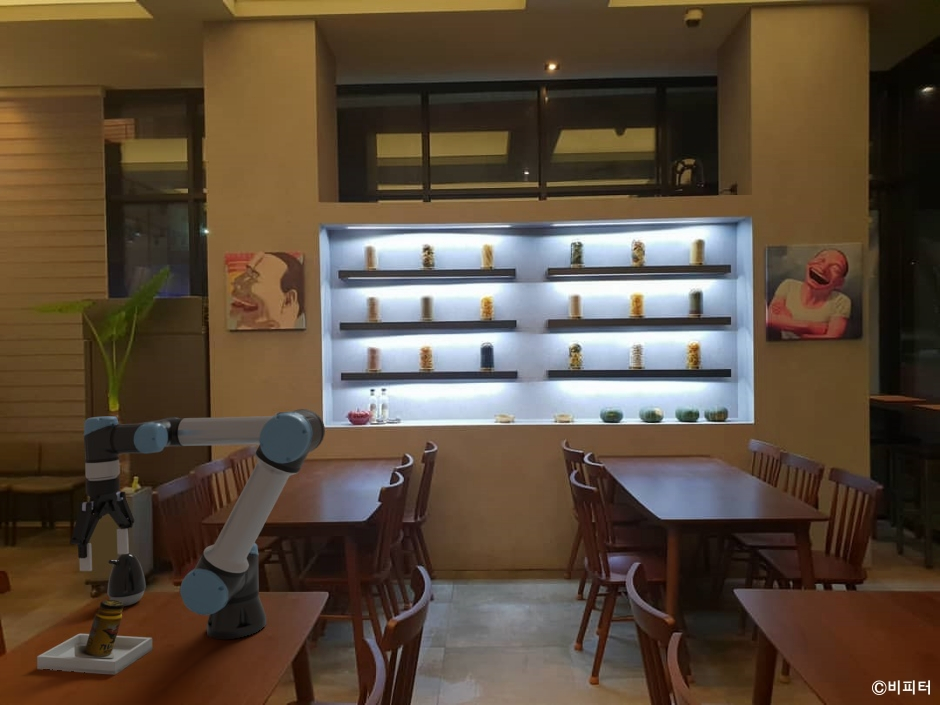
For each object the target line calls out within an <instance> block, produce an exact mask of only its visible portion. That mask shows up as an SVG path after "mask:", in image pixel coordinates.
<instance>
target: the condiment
mask: <svg viewBox="0 0 940 705" xmlns="http://www.w3.org/2000/svg"><path fill="white" fill-rule="evenodd" d="M124 607H125V606H124V604H123V603H122V602H120V601H117V600H110V599H105V600H102V601H101V602H100V604H99V607H98V609H97V610H98V611H97V612H96V613H95V615H94V618H93V622H92V623H91V627H90V628H91V629H90V630H89V633H88V634H89V637H88V641H87V644H86V646H83V645H75V648H74V651H75V652H74V653H75V657H95V658H114V655H113V646H114V643H115V640H116V636H118V633H119V628H120V626H121V622H122V618H123V615H122V613H123V609H124Z"/></svg>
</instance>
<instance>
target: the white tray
mask: <svg viewBox="0 0 940 705" xmlns="http://www.w3.org/2000/svg"><path fill="white" fill-rule="evenodd" d="M89 634H90V633H78V634H76V635H74V636H72V637H71V638H69V639H66V640H65V641H63V642H62V643H59V644H58V645H56V646H54V647H52V648H50V649H48V650H47V651H45V652H43V653H41V654H39V655H37V656H36V658H37V659H36V662H37V666H36V667H37V670H43V669H50V670H49V671H57V670H62V671H61V672H71V671H74V672H75V673H84V672H85V674H86V673H88V674H102V675H114V676H115V675H117V674H118V673H120V672H122V671H123V670H125V669H126V668H128V667H129V666H131V665H132V664H133V663H135V662H137V661H138V660H139V659H140V658H143V657H144V656H146V654H148V653H150V652H152V651H153V637H148V636H147V637H145V636H127V635H126V636H125V635H117V636H116V640H115V643H114V646H113V655H114V658H95V657H75V653H74V652H75V651H74V648H75V645H83V646H86V644H87V641H88V637H89ZM52 669H53V670H52Z"/></svg>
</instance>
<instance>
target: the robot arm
mask: <svg viewBox="0 0 940 705" xmlns="http://www.w3.org/2000/svg"><path fill="white" fill-rule="evenodd" d="M118 419H119V418H118V417H117V416H115V415H112V416H111V415H110V416H109V415H108V416H107V415H106V416H95V417H94V416H93V417H89V418H86V419H85V420H84V424H83V426H84V428H83V437H82V438H83V443H84V454H85V455H84V458H85V459H84V462H85V465H84V466H85V478H86V481H85V494H86V495H87V496H89V501H88V502H87V501H82V502H80V503H79V509H78V515H77V517H76V521H75V525H74V528H73V532H72V535H71V538H70V544H71V545H75V546H76V545H77V554H78V555H77V556H78V560H79V572H92V571H93V557H92V555H93V554H92V543H91V542H90V540H91V538H92V536H93V533H94V532H95V530H96V527H97V525H98V522H99V520H101V519H102V518H103V517H104V516H106V515H107V514H109V516H110V517H111V519H112V520H113V521H114V523H115V524H116V525H117V526H118V528H117V529H116V543H117V544H116V545H117V546H116V547H117V548H116V549H117V553H116V554H117V555H121V554H128V553H130V551H129V550H130V549H129V548H130V547H129V545H130V544H129V543H130V542H129V538H130V535H129V534H130V532H129V528H130V529H131V528H133V526H134V523H135V518H134V515H133V513H132V511H131V508H130V506H129V502H128V501H127V499H126V498H127V496H126V491H120V490H121V486H120V485H121V483H120V480H121V478H120V477H119V475H120V459H119V458H120V456H119V455H120V454H121V455H122V454H147V455H148V454H153V453H160V452H162V451H163V450H164V448H169V447H186V446H187V447H188V446H189V447H190V446H196V447H197V446H251V445H252V446H254V445H257V449H256V451H255V454H254V455H255V457H256V460H257V462H256V464H255V465H254V468H253V470H252V471H251V474H250V476H249V477H248V479H247V481H246V483H245V485H244V486H243V489H242V491H241V493H240V495H239V497H238V498H237V500H236V502H235V504H234V506H233V507H232V510H231V512H230V514H229V516H228V517H227V520H226V521H225V523H224V525H223V528H222V529H221V531H220V532H219V535H218V537H217V539H216V541H215V542H214V544H212V545H209V546H206V548H205V549H204V550H203V552H202V554H201V556H200V558H199V559H198V561H197V564H196V565H195V567H194V569H192V570H190V571H189V572H188V573H187V574H186V575H185V577H184V578H183V579H182V581H181V584H180V589H179V590H180V592H179V593H180V597H181V598H182V602H183V604H184V605H185V607H186V608H188V609H189V611H191V612H193V613H194V614H196V615H199V616H208V615H209V616H208V620H207V624H206V634H207V636H208V637H210V638H211V639H217V640H235V638H237V639H241V638H240V637H242V638H245V637H244V636H246V637H248V636H247V635H249V636H252V635H254V634H253V633H255V634H256V632H257V633H258V631H259V630H260V631H262V630H263V629H264V628H265V627H266V626H267V615H266V612H265V609H264V606H263V603H262V601H261V598H260V592H259V591H260V590H259V589H260V584H259V573H260V572H259V555H260V553H259V550H258V549H259V547H258V544H257V543H256V541H257V539H258V538H259V535H260V533H261V532H262V530H263V528H264V525H265V523H266V521H267V520H268V518H269V516H270V514H271V512H272V510H273V508H274V507H275V504H276V503H277V501H278V499H279V497H280V495H281V494H282V491H283V490H284V487H285V486H286V484H287V482H288V479H289V478H290V476H293V475H297V474H298V473H299V472H300V471H301V469H302V466H303V465H304V463H305V460H306V459H307V457H308V455H309V453H311V452H313V451H315V450H316V449H317V448H319V447H320V445H321V444H322V442H323V441H324V437H325V435H326V434H325V433H326V428H325V427H326V426H325V424H324V421H323V419H322V417H320V415H319V414H318V413H316V412H314V411H312V410H309V409H307V408H305V409H304V408H300V409H295V410H291V411H282V412H281V411H279V412H276V413H275V414H274V415H268V416H264V415H263V416H262V415H261V416H259V415H258V416H237V417H236V416H226V417H224V416H223V417H187V418H179V417H174V416H173V417H166V418H163V419H157V420H150V421H145V422H138V423H125V424H123V423H119V421H118ZM265 625H266V626H265ZM263 627H264V628H263ZM262 628H263V629H262ZM261 629H262V630H261ZM260 631H259V632H260ZM251 634H252V635H251Z"/></svg>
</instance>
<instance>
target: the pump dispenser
mask: <svg viewBox="0 0 940 705" xmlns="http://www.w3.org/2000/svg"><path fill="white" fill-rule="evenodd" d="M107 562H108V564H111V565H112V568H111V570H110V574H109V579H108V582H107V596H108V598H109V600H117V601H120V602H122V603H123V604H124V607H127V606H132V605H134V604H136V603H138V602H139V601H140V600H141V599H142V597H143V595H144V594H145V590H146V578H145V574H144V571H143V567H142V565H141V562H140V561H139V559H138V558H137V556H136V555H135V554H134V553H132V552H129V553H128V554H119V555H118V556H117V558H116V559H109V560H108V561H107Z"/></svg>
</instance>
